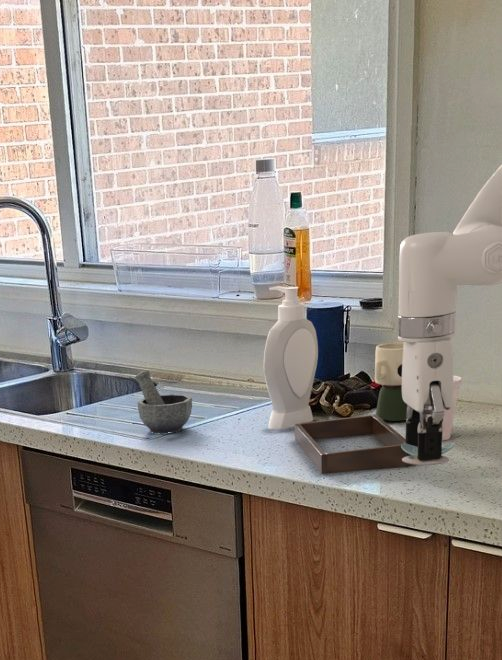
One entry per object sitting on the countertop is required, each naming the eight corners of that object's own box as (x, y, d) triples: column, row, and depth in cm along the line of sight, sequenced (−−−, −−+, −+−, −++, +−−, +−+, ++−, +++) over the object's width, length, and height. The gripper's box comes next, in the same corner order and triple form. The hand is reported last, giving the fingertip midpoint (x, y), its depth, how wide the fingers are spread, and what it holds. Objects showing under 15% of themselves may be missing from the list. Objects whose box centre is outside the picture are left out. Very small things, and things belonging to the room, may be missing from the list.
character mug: (392, 429, 210) (395, 352, 205) (357, 424, 215) (359, 349, 210) (430, 415, 215) (434, 341, 210) (396, 411, 221) (399, 338, 215)
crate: (376, 434, 208) (376, 414, 207) (411, 466, 187) (412, 444, 186) (295, 443, 209) (294, 423, 208) (321, 476, 189) (321, 454, 188)
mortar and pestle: (202, 433, 226) (201, 368, 221) (172, 445, 220) (169, 378, 216) (154, 428, 234) (152, 365, 229) (123, 439, 228) (120, 375, 223)
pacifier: (449, 468, 173) (455, 456, 177) (452, 425, 170) (457, 413, 175) (395, 467, 176) (403, 455, 181) (397, 424, 173) (404, 414, 178)
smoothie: (419, 443, 198) (423, 356, 193) (415, 434, 204) (419, 349, 198) (461, 441, 197) (466, 353, 191) (456, 432, 202) (461, 346, 197)
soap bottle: (296, 416, 228) (296, 280, 218) (327, 421, 222) (329, 282, 212) (244, 430, 222) (242, 291, 212) (275, 435, 216) (274, 293, 206)
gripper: (473, 332, 161) (468, 465, 169) (436, 315, 177) (432, 438, 184) (415, 339, 162) (412, 471, 169) (383, 321, 178) (381, 443, 185)
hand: (423, 452), depth 177 cm, fingers closed on pacifier, 5 cm apart
